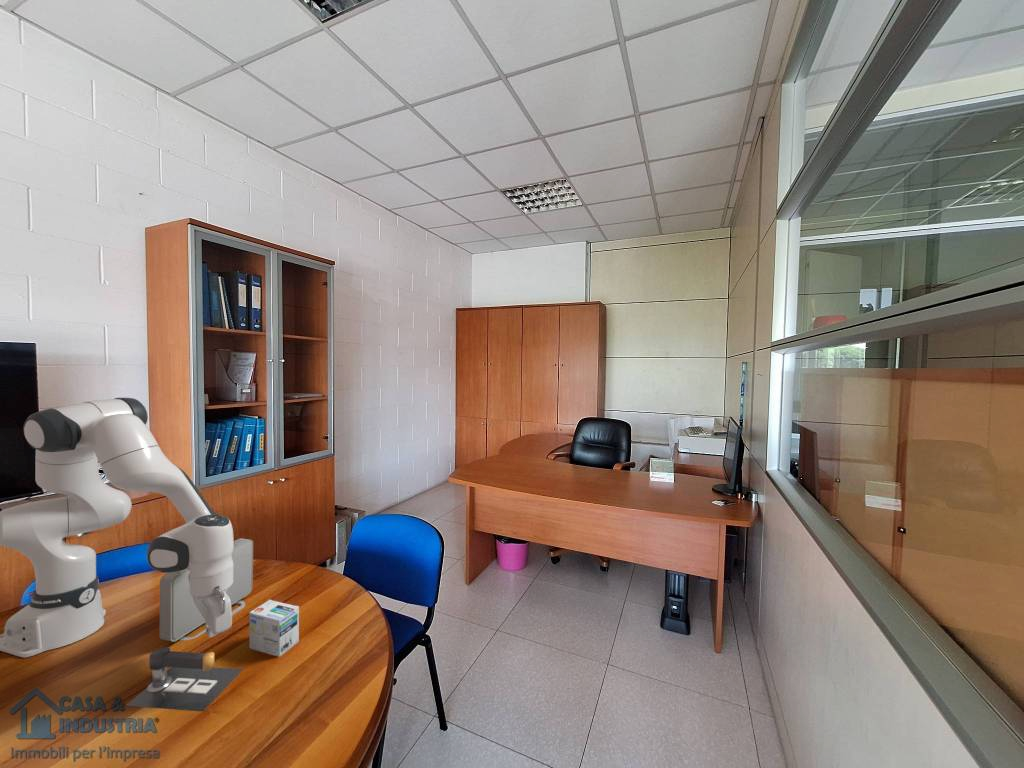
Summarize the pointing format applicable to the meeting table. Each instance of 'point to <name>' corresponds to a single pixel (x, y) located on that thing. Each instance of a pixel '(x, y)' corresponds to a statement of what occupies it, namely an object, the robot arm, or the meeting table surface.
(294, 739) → the meeting table surface
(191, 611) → the network device
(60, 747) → the meeting table surface
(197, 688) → the white flat rectangle
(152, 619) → the meeting table surface
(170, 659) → the dark grey lever handle
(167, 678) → the pivot post
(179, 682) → the psu label
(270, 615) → the light bulb box
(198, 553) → the robot arm
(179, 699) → the dark grey flat plate
